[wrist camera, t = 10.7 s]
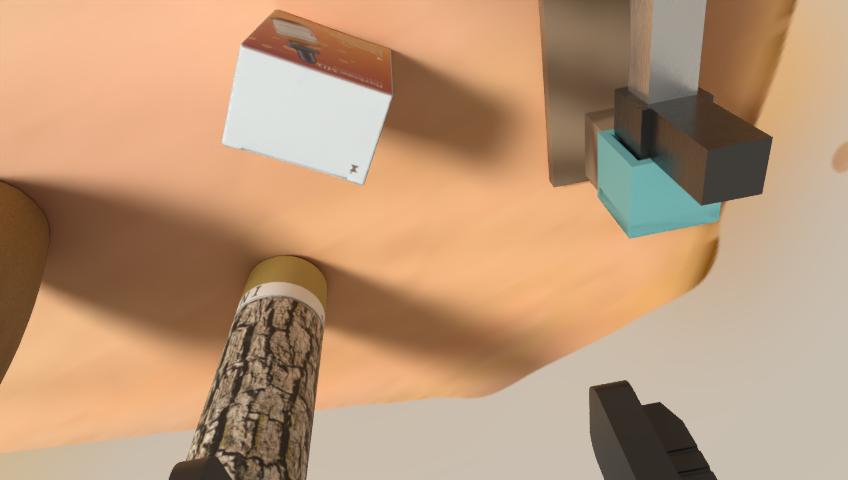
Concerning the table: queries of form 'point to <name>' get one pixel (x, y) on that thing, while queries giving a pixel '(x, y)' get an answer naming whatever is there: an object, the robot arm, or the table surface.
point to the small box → (309, 97)
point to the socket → (644, 193)
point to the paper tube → (267, 375)
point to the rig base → (581, 80)
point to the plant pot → (19, 266)
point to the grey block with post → (684, 108)
